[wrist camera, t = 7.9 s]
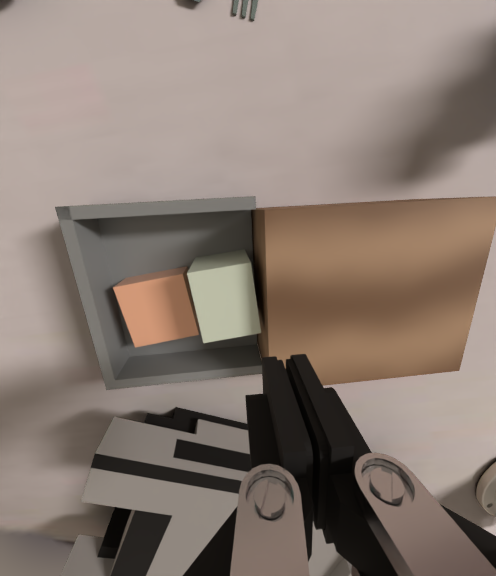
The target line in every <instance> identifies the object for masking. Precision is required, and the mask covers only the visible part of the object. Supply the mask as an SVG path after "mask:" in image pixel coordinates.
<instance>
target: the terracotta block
mask: <svg viewBox="0 0 496 576" xmlns="http://www.w3.org/2000/svg"><path fill="white" fill-rule="evenodd" d="M187 272H188V267H187V266H186V267H180V268H175V269H170V270H165V271H159V272H154V273H149V274H144V275H138V276H133V277H128V278H125V279H124V280H122V281H121V282H120V283H118V284H117V285H116V286H114V287H113V289H114V292H115V294H116V297H117V300H118V302H119V305H120V308H121V311H122V313H123V316H124V319H125V321H126V324H127V327H128V330H129V332H130V335H131V338H132V340H133V343H134V346H135V348H136V347H141V346H146V345H151V344H156V343H161V342H166V341H171V340H176V339H180V338H185V337H190V336H195V335H199V332H200V326H199V322H198V318H197V314H196V309H195V305H194V301H193V297H192V292H191V288H190V284H189V280H188V275H187Z"/></svg>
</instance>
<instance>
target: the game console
mask: <svg viewBox="0 0 496 576" xmlns="http://www.w3.org/2000/svg"><path fill="white" fill-rule="evenodd" d="M249 471H251V461H250V449H249V437H248V424H245V423H241V422H237V421H233V420H228V419H224V418H220V417H216V416H211V415H207V414H203V413H199V412H194V411H190V410H186V409H182V408H177V407H176V409H175V412H174V414H173V417H172V419H171V418H167V417H163V416H158V415H154V414H149V413H147V416H146V419H145V422H144V423H141V422H136V421H132V420H127V419H123V418H118V417H114V418H113V420H112V422H111V424H110V425H109V427H108V429H107V431H106V433H105V435H104V437H103V439H102V441H101V443H100V445H99V447H98V449H97V450H96V452H95V455H94V459H93V462H92V465H91V469H90V472H89V476H88V479H87V483H86V486H85V489H84V493H83V496H82V500H81V502H85V503H92V504H99V505H105V506H112V507H115V509H114V511H113V514H112V517H111V520H110V523H109V525H108V528H107V531H106V534H105V536H104V538H103V537H95V536H87V535H79V534H78V537H77V539H76V541H75V543H74V546H73V548H72V550H71V552H70V555H69V557H68V559H67V561H66V564H65V566H64V568H63V571H62V573H61V575H60V576H183V574H184V573H185V572H186V571H187V569H188V568H189V567H190V566H191V564H192V563H193V562H194V560H195V559H196V558H197V557H198V555H199V554H200V553H201V552H202V550H203V549H204V548H205V547H206V545H207V544H208V543H209V541H210V540H211V539H212V538H213V536H214V535H215V534H216V533H217V531H218V530H219V529H220V527H221V526H222V525H223V524H224V522H225V521H226V520H227V519H228V517H229V516H230V515H231V513H232V512H233V511H234V510H235V508H236V507H237V506H238V496H239V490H240V486H241V482H242V481H243V479H244V477H245V476H246V474H247V473H248V472H249ZM308 566H309V575H310V576H352V575H351V572H350V569H349V566H348V563H347V560H346V559H344V558H343V557H342V556H341V555H340V554H339V553H337V552H336V549H335V545H334V543H331V544H326V542H325V538H324V535H323V531H322V529H319V530H316V528H315V526H314V522H313V533H312V555H311V558H310V560H309V562H308Z"/></svg>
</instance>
